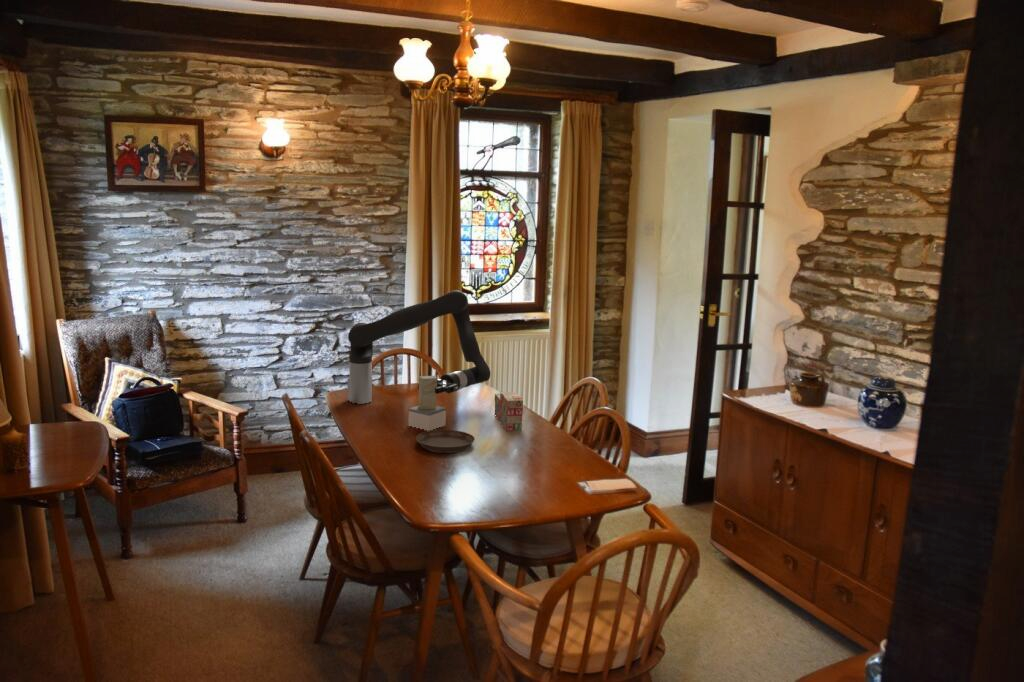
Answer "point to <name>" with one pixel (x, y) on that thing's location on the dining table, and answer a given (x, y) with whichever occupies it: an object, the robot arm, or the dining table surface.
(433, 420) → the block
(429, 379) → the skincare box
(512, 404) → the printed cardboard box
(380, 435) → the dining table surface
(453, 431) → the plant saucer
